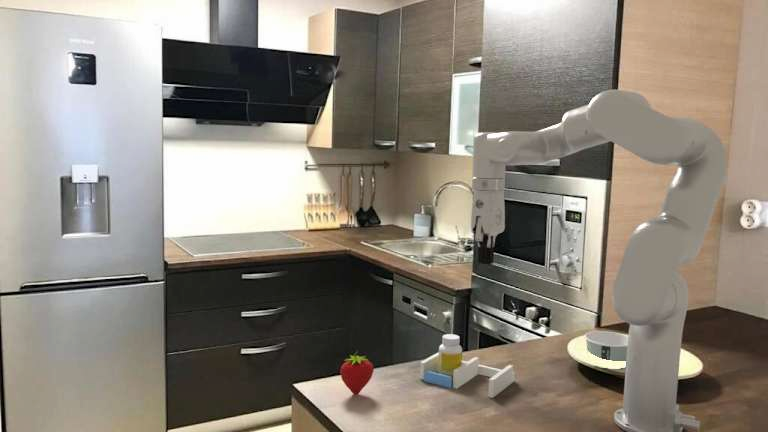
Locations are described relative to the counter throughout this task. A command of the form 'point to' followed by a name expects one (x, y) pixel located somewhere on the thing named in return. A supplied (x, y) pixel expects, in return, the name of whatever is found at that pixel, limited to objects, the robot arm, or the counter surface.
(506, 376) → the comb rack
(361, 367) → the strawberry
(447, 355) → the supplement bottle
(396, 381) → the counter surface
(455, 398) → the counter surface
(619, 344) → the food container
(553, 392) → the counter surface
